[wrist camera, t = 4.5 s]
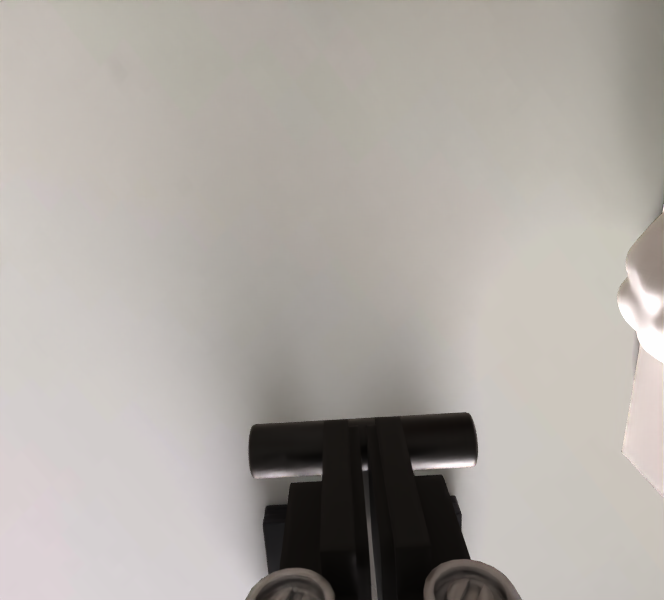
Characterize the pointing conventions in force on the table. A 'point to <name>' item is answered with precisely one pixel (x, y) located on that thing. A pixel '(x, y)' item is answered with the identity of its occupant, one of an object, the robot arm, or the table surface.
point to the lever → (362, 450)
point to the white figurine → (646, 353)
